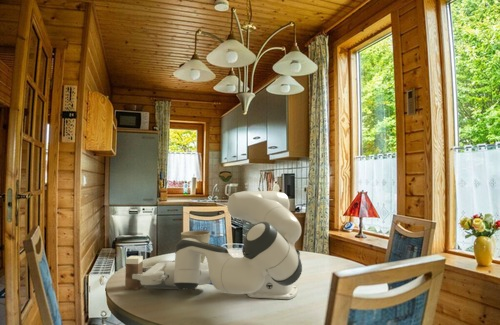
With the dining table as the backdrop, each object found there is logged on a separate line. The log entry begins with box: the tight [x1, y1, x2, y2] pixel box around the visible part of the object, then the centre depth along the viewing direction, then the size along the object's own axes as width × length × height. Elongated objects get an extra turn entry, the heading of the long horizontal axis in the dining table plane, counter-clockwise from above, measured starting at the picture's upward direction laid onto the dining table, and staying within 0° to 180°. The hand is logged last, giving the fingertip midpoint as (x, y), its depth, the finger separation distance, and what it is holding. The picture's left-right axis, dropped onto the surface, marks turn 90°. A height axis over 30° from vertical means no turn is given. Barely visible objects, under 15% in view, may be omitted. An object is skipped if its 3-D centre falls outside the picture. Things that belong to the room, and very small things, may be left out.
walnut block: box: [124, 255, 144, 291], centre depth 134 cm, size 5×5×12 cm
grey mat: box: [144, 282, 179, 290], centre depth 138 cm, size 16×11×1 cm
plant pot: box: [180, 230, 211, 263], centre depth 171 cm, size 15×15×16 cm
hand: (137, 272), depth 133 cm, fingers open, 8 cm apart
